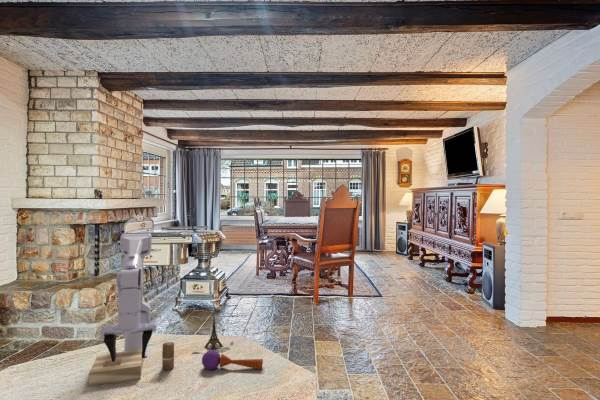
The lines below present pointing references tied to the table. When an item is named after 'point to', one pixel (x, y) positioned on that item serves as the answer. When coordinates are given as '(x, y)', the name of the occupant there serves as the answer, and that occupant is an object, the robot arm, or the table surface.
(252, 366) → the kendama
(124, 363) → the socket block
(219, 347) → the eiffel tower figurine
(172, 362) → the peg
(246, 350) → the table surface
